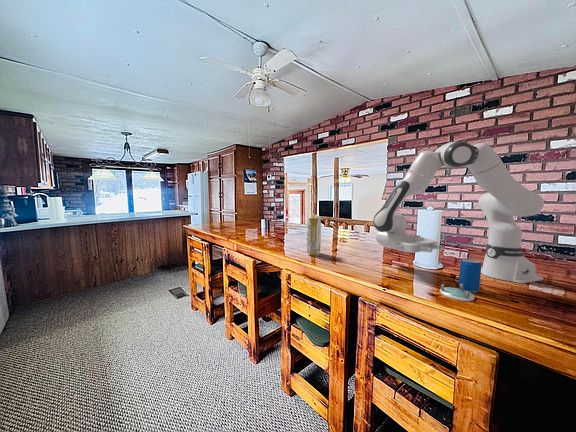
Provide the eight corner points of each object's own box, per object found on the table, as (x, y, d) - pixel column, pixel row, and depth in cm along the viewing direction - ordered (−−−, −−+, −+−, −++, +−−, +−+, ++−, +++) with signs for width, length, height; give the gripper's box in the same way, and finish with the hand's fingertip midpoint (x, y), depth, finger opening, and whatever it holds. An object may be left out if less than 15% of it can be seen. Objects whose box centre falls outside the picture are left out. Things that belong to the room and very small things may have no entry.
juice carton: (320, 256, 140) (320, 216, 138) (306, 255, 141) (307, 215, 139) (320, 252, 149) (321, 214, 147) (307, 251, 150) (308, 214, 148)
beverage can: (469, 286, 96) (472, 257, 95) (483, 293, 90) (486, 262, 89) (454, 286, 96) (456, 257, 95) (466, 293, 89) (469, 262, 88)
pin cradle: (458, 288, 94) (458, 280, 94) (482, 300, 84) (482, 291, 83) (433, 289, 93) (434, 281, 92) (455, 301, 82) (455, 293, 82)
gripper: (394, 238, 108) (424, 244, 96) (419, 235, 118) (449, 240, 107) (393, 251, 108) (423, 259, 97) (418, 247, 119) (448, 253, 107)
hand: (437, 249), depth 102 cm, fingers open, 8 cm apart
